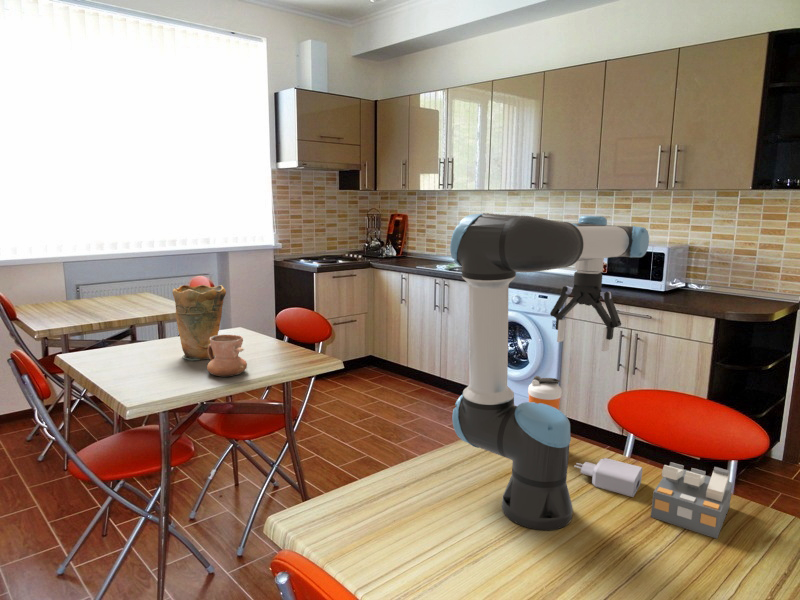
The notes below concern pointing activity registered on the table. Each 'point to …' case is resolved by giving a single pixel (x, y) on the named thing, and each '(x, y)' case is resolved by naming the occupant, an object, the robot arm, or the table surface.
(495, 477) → the table surface
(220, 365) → the ceramic jug
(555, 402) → the shaker bottle
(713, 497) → the rocker
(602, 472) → the charger
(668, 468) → the rocker
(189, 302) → the vase
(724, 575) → the table surface
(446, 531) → the table surface
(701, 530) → the switch unit
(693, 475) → the rocker
